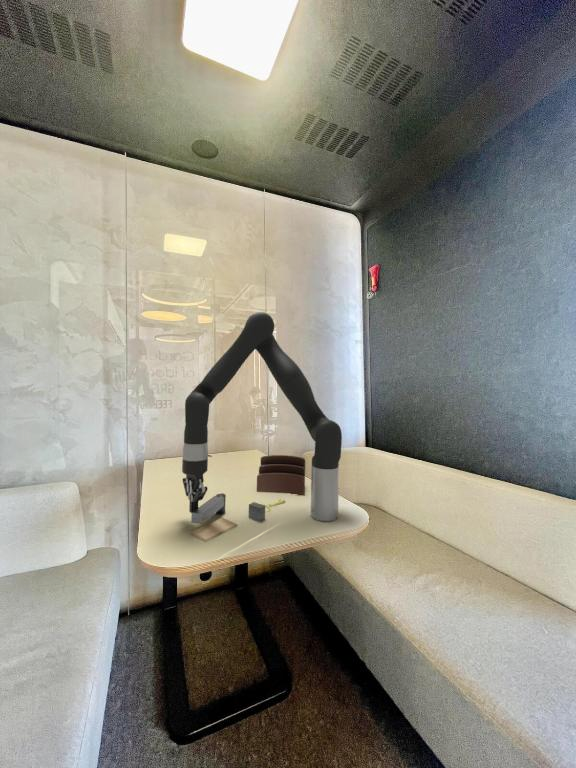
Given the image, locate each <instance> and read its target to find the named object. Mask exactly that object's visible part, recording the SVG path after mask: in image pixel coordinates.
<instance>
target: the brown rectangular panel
mask: <svg viewBox="0 0 576 768" xmlns="http://www.w3.org/2000/svg"><path fill="white" fill-rule="evenodd" d="M237 527H238V523H236V522H233V521H232V520H230V519H226V518H223V517H221V518H218V519H216V520H214V521H212V522H210V523H207V524H205V525H203V526H201V527H198V528H196V529H193V530H192V531H190V535H192V536H193V537H195V538H197V539H200V540H201V541H203V542H205V543H207V542H209V541H211V540H212V539H215V538H216V537H219V536H221V535H223V534H225V533H226V532H228V531H230V530H233V529H235V528H237Z"/></svg>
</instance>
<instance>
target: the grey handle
mask: <svg viewBox="0 0 576 768" xmlns="http://www.w3.org/2000/svg"><path fill="white" fill-rule="evenodd" d="M226 496H227V495H226V493H218V494H215V495H214V496H212V497H211V498H209V499H208V500H207V501H206V502H204V503H203V504H201V505H200V506H198V508H197V509H196V510H194V511H193V512H192V513H191V516H190V517H191V523H192V524H198V525H203V524H204V523H205V522H206V521H208V520H209V519H211V517H212V516H213V515H215V514H216V515H217V516H218V515H219V516H222V515H225V514H226V498H227V497H226Z"/></svg>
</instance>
